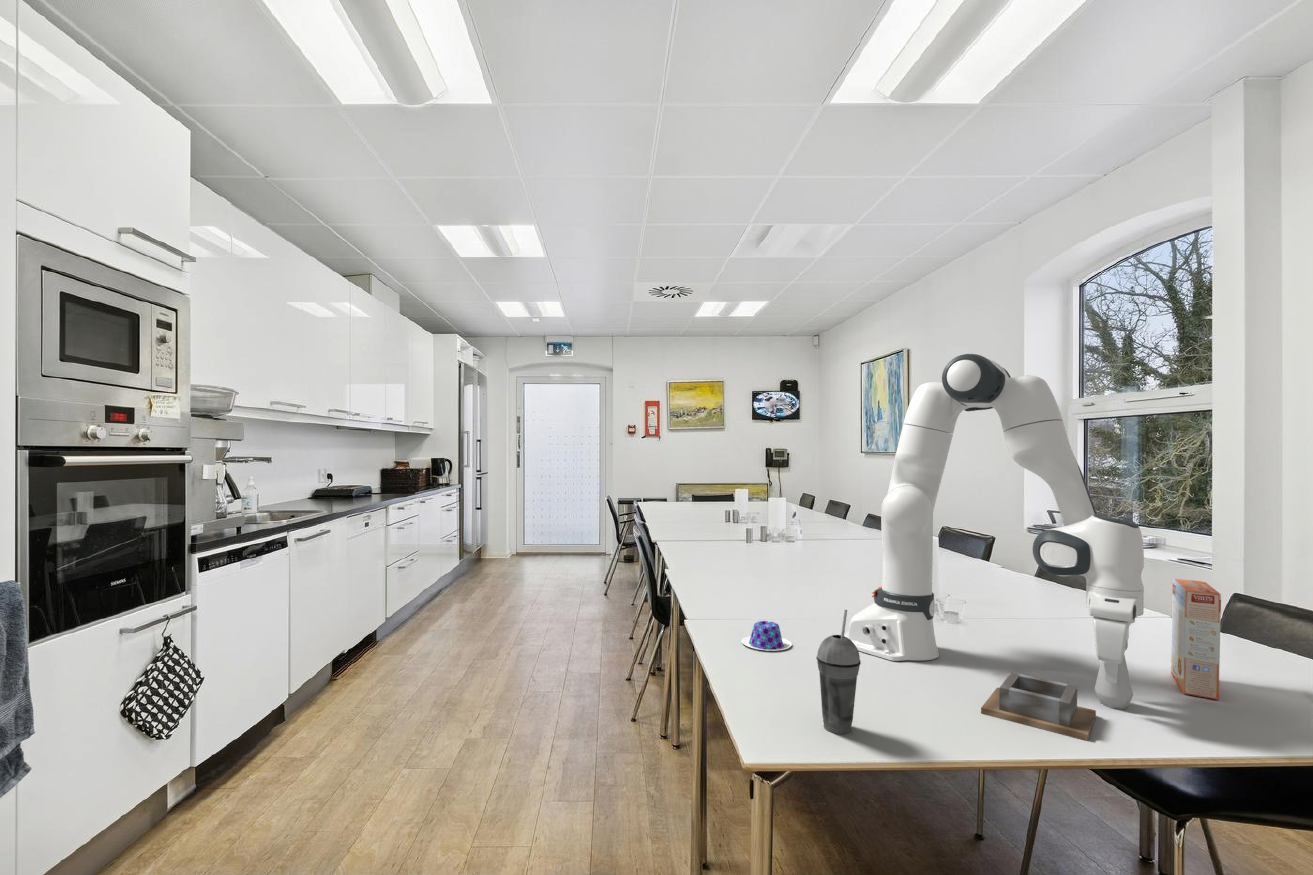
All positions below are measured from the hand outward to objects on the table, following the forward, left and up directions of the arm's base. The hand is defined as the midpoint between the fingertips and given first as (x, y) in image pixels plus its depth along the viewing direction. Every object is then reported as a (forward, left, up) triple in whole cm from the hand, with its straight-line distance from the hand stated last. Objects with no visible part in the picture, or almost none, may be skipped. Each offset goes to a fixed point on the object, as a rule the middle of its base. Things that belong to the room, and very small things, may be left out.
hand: (1113, 674), depth 119 cm
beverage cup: (-35, -45, -6) cm, 57 cm away
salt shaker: (0, 0, -6) cm, 6 cm away
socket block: (-10, -15, -6) cm, 19 cm away
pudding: (-67, -13, -6) cm, 69 cm away
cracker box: (+12, +23, -6) cm, 27 cm away
